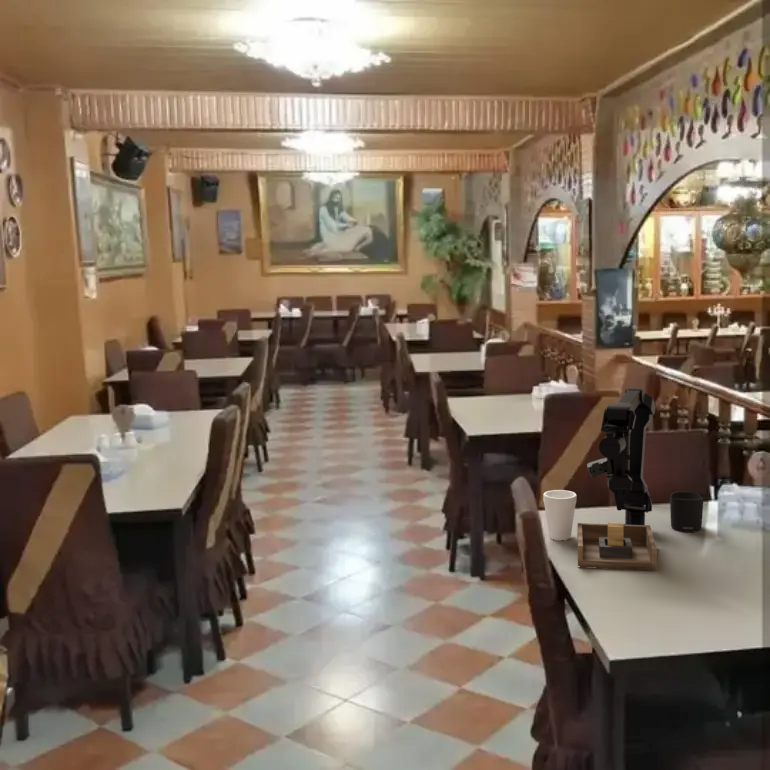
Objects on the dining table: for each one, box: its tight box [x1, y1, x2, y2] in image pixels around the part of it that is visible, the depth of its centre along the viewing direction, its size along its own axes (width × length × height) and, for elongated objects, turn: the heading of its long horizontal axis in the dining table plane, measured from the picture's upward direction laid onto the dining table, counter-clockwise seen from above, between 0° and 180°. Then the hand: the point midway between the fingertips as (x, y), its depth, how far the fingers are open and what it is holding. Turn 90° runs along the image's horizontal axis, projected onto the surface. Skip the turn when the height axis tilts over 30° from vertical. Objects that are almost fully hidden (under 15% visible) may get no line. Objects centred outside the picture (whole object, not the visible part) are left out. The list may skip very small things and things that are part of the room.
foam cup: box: [542, 489, 577, 541], centre depth 259 cm, size 10×9×13 cm
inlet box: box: [576, 522, 658, 572], centre depth 242 cm, size 20×20×6 cm
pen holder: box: [669, 491, 704, 533], centre depth 264 cm, size 9×9×10 cm
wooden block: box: [607, 521, 624, 546], centre depth 242 cm, size 4×4×8 cm
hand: (618, 505), depth 245 cm, fingers open, 9 cm apart
